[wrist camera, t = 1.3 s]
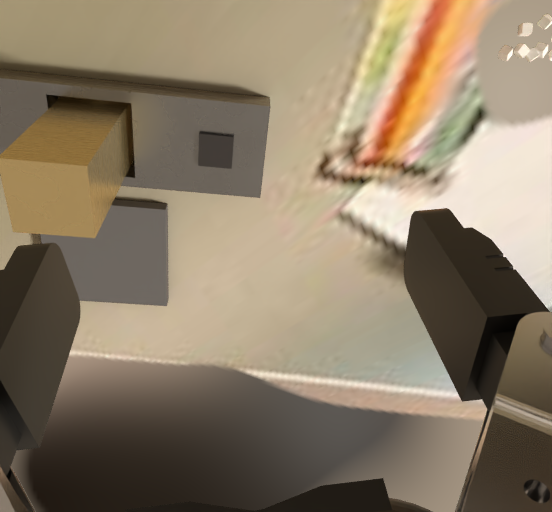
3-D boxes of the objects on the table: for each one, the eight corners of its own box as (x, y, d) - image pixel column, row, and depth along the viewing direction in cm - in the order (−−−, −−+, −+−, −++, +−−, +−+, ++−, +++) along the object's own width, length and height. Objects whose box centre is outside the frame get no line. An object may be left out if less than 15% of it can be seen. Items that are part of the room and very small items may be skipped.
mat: (55, 291, 44) (52, 298, 43) (38, 192, 38) (33, 198, 37) (168, 298, 45) (166, 306, 44) (167, 203, 39) (165, 209, 38)
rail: (-62, 157, 36) (-79, 170, 34) (-91, 59, 32) (-112, 68, 30) (259, 185, 39) (260, 199, 37) (269, 97, 35) (270, 107, 33)
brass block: (72, 153, 37) (13, 232, 28) (64, 93, 34) (-4, 158, 25) (133, 159, 37) (95, 238, 28) (130, 100, 34) (87, 166, 25)
